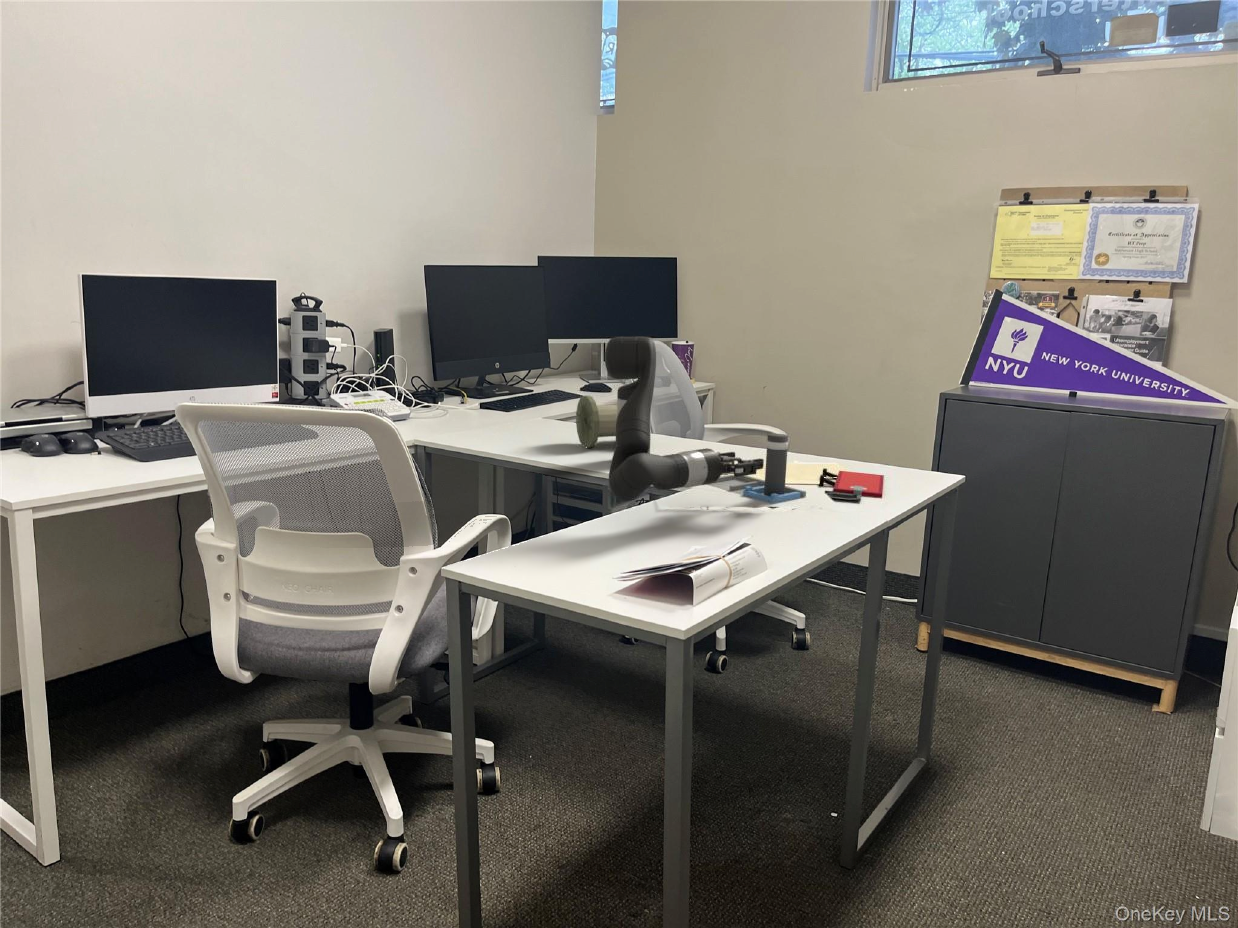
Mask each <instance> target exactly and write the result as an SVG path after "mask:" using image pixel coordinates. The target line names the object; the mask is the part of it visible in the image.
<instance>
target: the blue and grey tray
mask: <svg viewBox="0 0 1238 928" xmlns="http://www.w3.org/2000/svg"><path fill="white" fill-rule="evenodd" d="M706 485H708V486H711V487H714V488H718V489H721V490H725V491H728V492H732V493H735V494H739V495H741V496H746V497H747V498H748V497H749V498H753V499H756V500H759V501H762V502H766V503H770V504H778V503H782V502H787V501H792V500H796V499H802V498H806V497H807V491H805V490H801V489H798V488H794V487H790V486H786V485H785V494H782V495H779V494H775V493H774V494H771V497H770V496H766V495H764V486H765V479H761V478H757V477H754V476H751V475H746V476H739V477H735V476H734V474H728V475H721V476H720V477H719V479H718V480H717V481H716V482H714V483H712V484H706ZM768 508H769V509H772V510H773V509H778V508H779V506H768Z"/></svg>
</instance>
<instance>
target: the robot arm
mask: <svg viewBox="0 0 1238 928" xmlns="http://www.w3.org/2000/svg"><path fill="white" fill-rule="evenodd" d="M655 344H656V343H655V340H653V338H652V337H649V336H643V335H642V336H616V337H612V338H610V339H609V341H608V342H607V344H606V347H605V351H604V365H605V369H606V371H607V373H608V376H610V377H611V378H612V379H614V380H615V379H616V380H634V381H633V382H630V383H628V384H624V385H622V386H619V387H618V388H617V393H616V395H617V397H616V398H617V400H616V401H617V402H616V403H617V404H616V405H617V420H616V436H615V448H614V451H613V455H612V458H611V463H610V468H609V471H608V472H609V473H608V485H609V488H610V489H609V490H610V491H611V493H612V494H613V496H614V497H615V498H616V499H617V500H619V501H622V502H624V503H625V502H632V501H634V500H636V499H637V498H639V496H641V495H642V494H643V493H644V492H645V491H647V489H648V488H649V487H651V486H652V487H654V488H655V489H657V490H659V491H666V490H667V491H668V490H674V489H679V488H681V489H682V488H693V487H700V486H706V485H707V484H712V483H714V482H716V481H717V480H718V479H719V477H721V476H727V475H734V476H735V477H739V476H751V475H757V470H763V469H764V466H765V463H764V462H765V461H764V458H754V459H753V458H752V459H742V458H741V457H736V452H734V451H729V452H728V451H727V452H720V451H719V452H718V451H717V452H716V451H715V450H713V449H712V448H701V449H693V450H686V451H685V450H684V451H681V452H678V453H677V452H676V453H674V454H673V453H672V454H665V455H659V454H654V453H651V434H652V433H651V432H652V406H653V404H652V403H653V397H654V389H655V381H656V380H655V379H656V370H657V351H656V350H657V349H656V345H655ZM735 462H737V463H735Z"/></svg>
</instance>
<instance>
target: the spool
mask: <svg viewBox="0 0 1238 928" xmlns="http://www.w3.org/2000/svg"><path fill="white" fill-rule="evenodd" d="M576 405H577V406H576V412H575V425H576V432H577V436H578V441H579V442H580V445H581V446H582V445H584V446H585V447H587V448H586V449H592V448H594V447H595V446H596V445H597V442H598V440H599V438H604V437H605V438H608V437H610V438H611V437H616V420H617V404H607V405H597V402H596V400H595V399H594V398H593V396H591V395H588V394H587V395H586V394H585V395H582V396H581V397H579V400H578V402H577V404H576ZM585 447H584V448H585ZM591 447H592V448H591Z"/></svg>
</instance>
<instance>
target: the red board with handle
mask: <svg viewBox="0 0 1238 928" xmlns="http://www.w3.org/2000/svg"><path fill="white" fill-rule="evenodd" d="M884 476H885V475H884V474H876V473H866V472H865V473H864V472H853V471H846V470H845V471H844V470H839V471H838V474H834V473H832V472H829V471H828V468H826V467H825V468H823V469H822V474H820V477H819V485H818V486H819V487H824V485H825V484H827V485H829V486H832V487H833V490H832V491H831V490H824V494H825V495H827V496H828V498H833V499H842V500H843V499H844V500H849V501H851V500H852V501H861V500H862V497H871V498H883V494H884V493H883V492H884V491H883V489H884V478H885V477H884ZM824 477H826V478H824ZM827 477H828V478H827ZM831 477H837V480H836V479H835V481H833V480H830V479H829V478H831Z"/></svg>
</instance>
